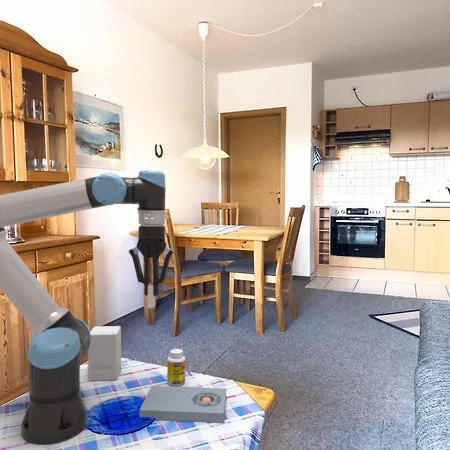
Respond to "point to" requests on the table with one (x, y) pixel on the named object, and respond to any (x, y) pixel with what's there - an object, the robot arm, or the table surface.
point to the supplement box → (104, 353)
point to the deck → (184, 404)
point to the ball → (206, 400)
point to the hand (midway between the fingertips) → (151, 306)
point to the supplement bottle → (176, 368)
